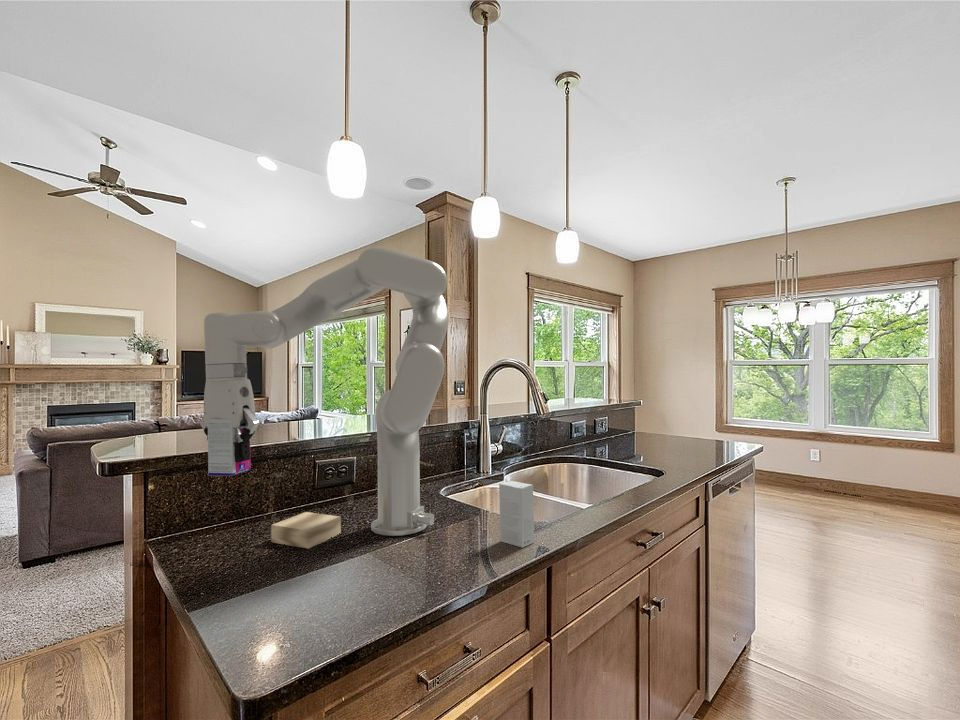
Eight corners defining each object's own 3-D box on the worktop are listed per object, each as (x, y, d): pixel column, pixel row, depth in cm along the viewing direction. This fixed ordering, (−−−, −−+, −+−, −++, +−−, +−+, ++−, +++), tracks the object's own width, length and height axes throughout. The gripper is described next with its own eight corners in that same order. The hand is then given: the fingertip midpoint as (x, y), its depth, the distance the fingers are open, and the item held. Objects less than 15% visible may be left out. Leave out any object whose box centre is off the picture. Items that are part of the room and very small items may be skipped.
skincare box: (534, 542, 101) (534, 484, 101) (522, 548, 98) (521, 488, 98) (512, 536, 105) (511, 480, 105) (499, 541, 102) (498, 483, 102)
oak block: (340, 534, 108) (340, 516, 108) (308, 550, 99) (308, 530, 99) (305, 529, 112) (305, 511, 112) (271, 544, 103) (271, 524, 103)
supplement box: (233, 476, 97) (231, 418, 97) (207, 476, 98) (205, 419, 98) (252, 469, 103) (250, 415, 103) (227, 469, 104) (225, 415, 104)
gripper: (272, 371, 101) (276, 458, 100) (213, 373, 108) (216, 455, 107) (241, 372, 94) (245, 466, 94) (180, 375, 101) (184, 462, 100)
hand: (230, 459), depth 100 cm, fingers closed on supplement box, 6 cm apart
